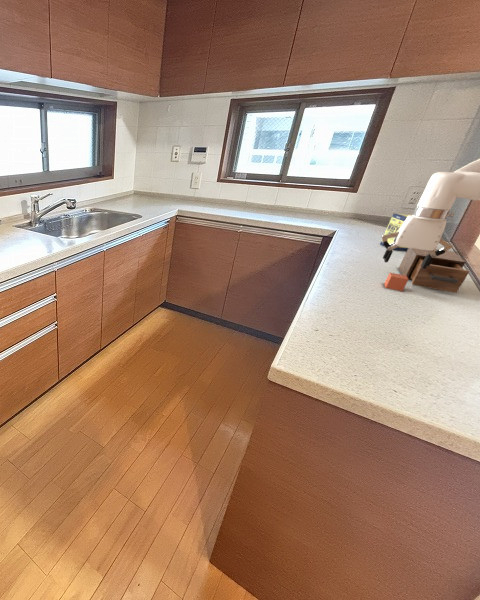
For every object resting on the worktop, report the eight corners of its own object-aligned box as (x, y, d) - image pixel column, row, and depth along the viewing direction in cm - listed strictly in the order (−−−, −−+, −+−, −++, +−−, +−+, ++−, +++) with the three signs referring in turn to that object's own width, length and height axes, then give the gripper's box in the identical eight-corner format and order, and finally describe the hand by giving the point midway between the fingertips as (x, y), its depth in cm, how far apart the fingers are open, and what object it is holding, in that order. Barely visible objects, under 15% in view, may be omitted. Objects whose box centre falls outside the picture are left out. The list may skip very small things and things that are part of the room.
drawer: (461, 297, 106) (474, 275, 102) (414, 289, 111) (425, 267, 108) (446, 280, 119) (457, 260, 116) (405, 273, 125) (415, 254, 121)
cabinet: (450, 287, 116) (465, 262, 111) (404, 279, 122) (416, 254, 118) (440, 275, 126) (454, 251, 122) (398, 268, 133) (409, 245, 129)
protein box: (378, 243, 165) (392, 213, 158) (415, 246, 162) (431, 215, 155) (390, 249, 156) (405, 217, 149) (429, 253, 153) (446, 220, 146)
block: (400, 287, 115) (406, 275, 113) (402, 291, 112) (408, 279, 110) (384, 284, 117) (389, 272, 115) (385, 288, 114) (391, 276, 112)
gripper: (464, 216, 101) (435, 267, 109) (392, 208, 110) (370, 256, 118) (472, 219, 96) (441, 273, 103) (396, 211, 104) (372, 261, 112)
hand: (403, 264), depth 110 cm, fingers open, 9 cm apart
